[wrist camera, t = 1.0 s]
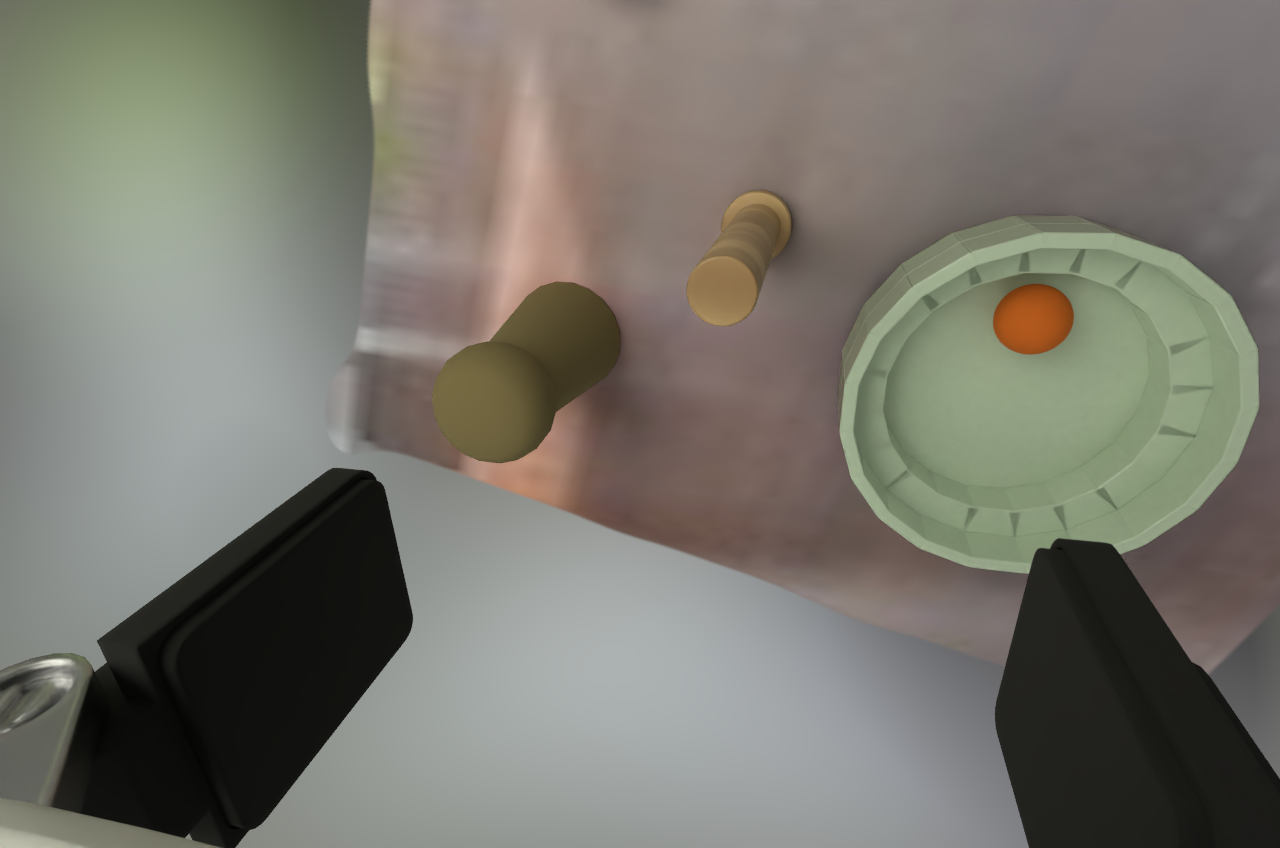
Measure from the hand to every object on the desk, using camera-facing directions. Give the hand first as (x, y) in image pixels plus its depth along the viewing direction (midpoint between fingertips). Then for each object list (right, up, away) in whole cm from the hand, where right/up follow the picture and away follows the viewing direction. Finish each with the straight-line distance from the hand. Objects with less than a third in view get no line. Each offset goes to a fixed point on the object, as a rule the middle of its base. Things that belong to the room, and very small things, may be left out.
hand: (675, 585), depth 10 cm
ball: (+16, +7, +19) cm, 26 cm away
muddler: (+5, +12, +22) cm, 26 cm away
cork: (-4, +7, +27) cm, 28 cm away
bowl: (+17, +4, +22) cm, 28 cm away
